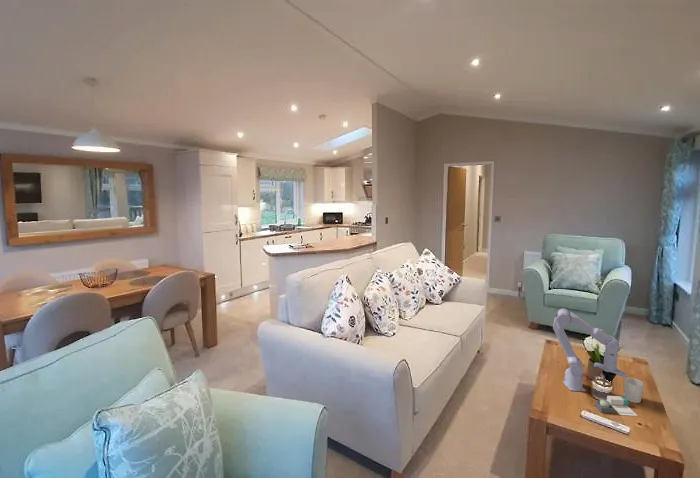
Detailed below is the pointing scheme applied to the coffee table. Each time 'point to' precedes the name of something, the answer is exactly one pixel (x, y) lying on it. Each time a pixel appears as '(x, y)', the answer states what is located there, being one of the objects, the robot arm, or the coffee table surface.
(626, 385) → the white cup
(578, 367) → the robot arm
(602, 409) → the button housing
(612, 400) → the eraser
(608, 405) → the button
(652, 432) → the coffee table surface
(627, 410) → the paper
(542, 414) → the coffee table surface
